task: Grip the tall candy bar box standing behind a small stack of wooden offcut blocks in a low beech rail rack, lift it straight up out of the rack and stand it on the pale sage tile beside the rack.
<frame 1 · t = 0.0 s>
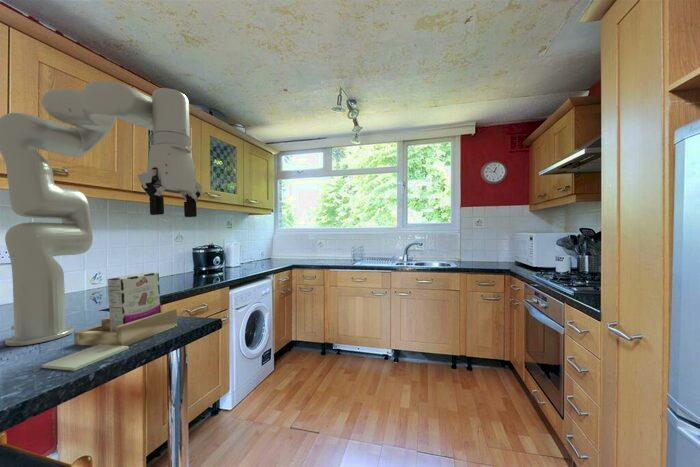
hand: (175, 215, 68), 31 cm above the countertop, tool pointing down, fingers open, 9 cm apart
candy bar box: (137, 335, 78), resting in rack
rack: (129, 334, 78), on the countertop
offcut upper: (118, 324, 78), point 3 cm above the countertop, touching offcut lower
tile: (88, 357, 63), on the countertop
offcut lower: (120, 335, 79), resting in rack, touching offcut upper
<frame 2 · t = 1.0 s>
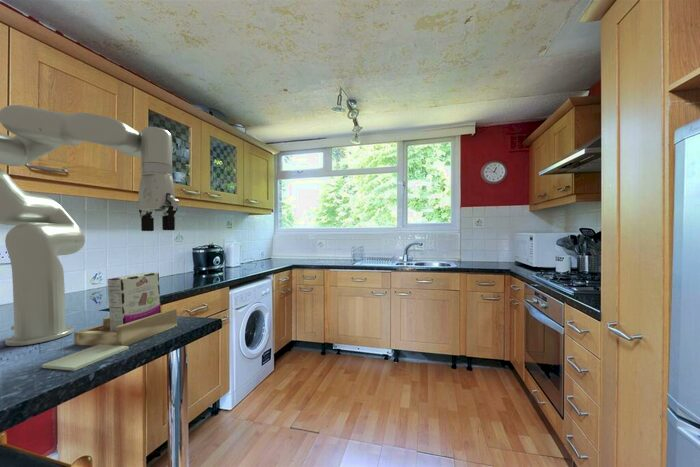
hand: (157, 230, 83), 28 cm above the countertop, tool pointing down, fingers open, 9 cm apart
nothing on the countertop moved.
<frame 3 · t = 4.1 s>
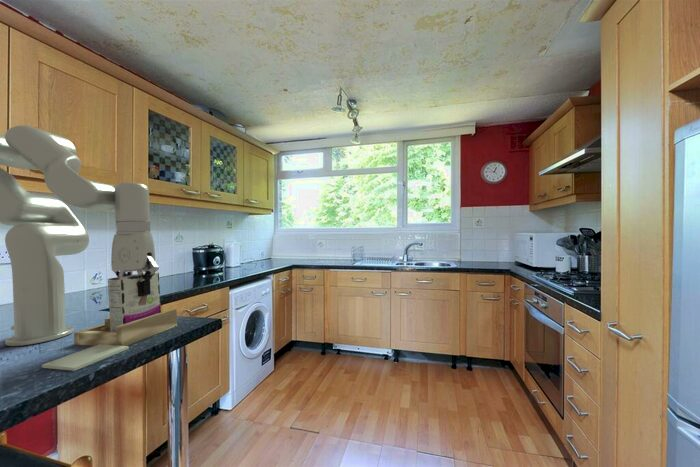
hand: (135, 294, 78), 11 cm above the countertop, tool pointing down, fingers closed on candy bar box, 5 cm apart
candy bar box: (137, 335, 78), resting in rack, touching gripper
everything else where it was.
when the fingers open (13 cm above the countertop, at t = 9.7 s): candy bar box drops 1 cm, resting on tile.
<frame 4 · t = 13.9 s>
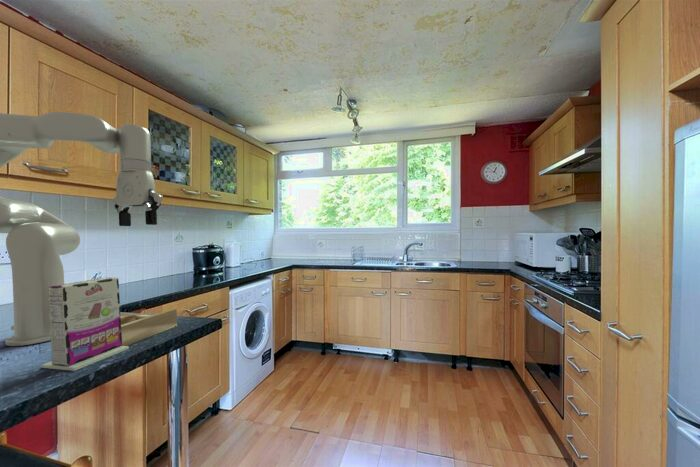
hand: (138, 225, 85), 30 cm above the countertop, tool pointing down, fingers open, 9 cm apart
candy bar box: (88, 355, 63), resting on tile
at the end: candy bar box inside the target area on the tile (0.1 cm from its centre), point 0.4 cm above the tile's base; candy bar box tilted 0°; the gripper is holding nothing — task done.
